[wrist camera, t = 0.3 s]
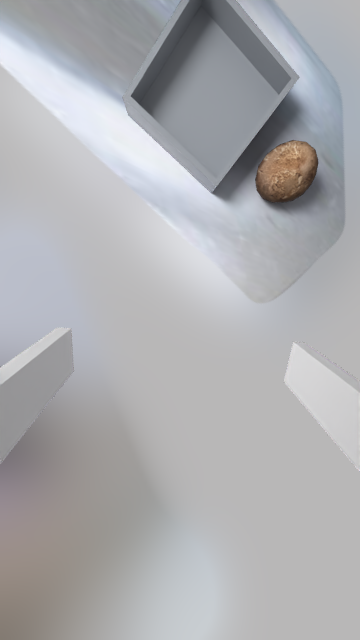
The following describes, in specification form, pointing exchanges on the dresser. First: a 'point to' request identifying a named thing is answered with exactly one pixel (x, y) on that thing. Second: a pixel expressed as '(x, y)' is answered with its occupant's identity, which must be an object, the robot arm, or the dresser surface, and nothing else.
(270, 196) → the mushroom
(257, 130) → the tray
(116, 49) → the dresser surface
